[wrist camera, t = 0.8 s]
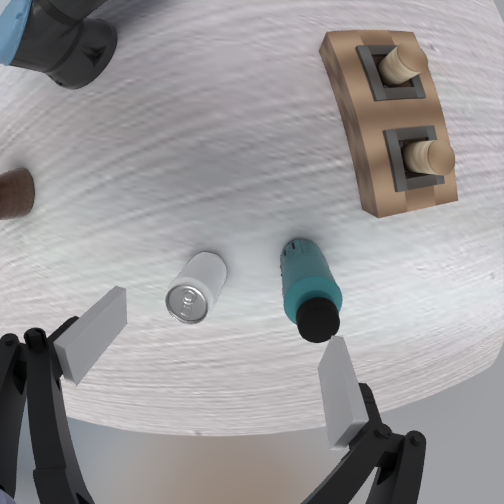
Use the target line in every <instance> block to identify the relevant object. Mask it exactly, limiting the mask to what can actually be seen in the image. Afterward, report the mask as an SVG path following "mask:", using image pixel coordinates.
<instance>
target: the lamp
mask: <svg viewBox="0 0 504 504" xmlns="http://www.w3.org/2000/svg"><path fill="white" fill-rule="evenodd" d="M33 201H34V184H33V180H32V177H31V175H30V173H29V172H28V171H27V170H26V169H24V168H17V169H14V170H11V171H8V172H5V173H3V174H1V175H0V220H4V219H14V218H19V217H23V216H26V215H27V214H28V213H29V212H30V210H31V208H32V205H33Z"/></svg>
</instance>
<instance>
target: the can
mask: <svg viewBox="0 0 504 504" xmlns="http://www.w3.org/2000/svg"><path fill="white" fill-rule="evenodd" d="M226 276H227V269H226V265H225V263H224V262H223V260H222V259H221V258H220V257H219V256H217V255H216V254H213V253H209V252H202V253H199V254H197V255H195V256H194V257H193V258H192V259H191V260H190V261H189V262H188V263H187V265H186V266H185V267H184V268H183V269H182V270H181V272H180V273H179V274H178V275H177V276H176V278H175V279H174V280H173V281H172V283H171V284H170V286H169V288H168V290H167V295H166V307H167V309H168V311H169V313H170V314H171V315H172V316H173V317H174V318H175V319H176V320H178V321H180V322H182V323H185V324H196V323H199V322H201V321H202V320H204V318H206V317H207V316H208V315H209V314H210V313H211V311H212V310H213V308H214V305H215V303H216V301H217V299H218V296H219V294H220V292H221V289H222V287H223V284H224V282H225V279H226Z"/></svg>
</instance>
